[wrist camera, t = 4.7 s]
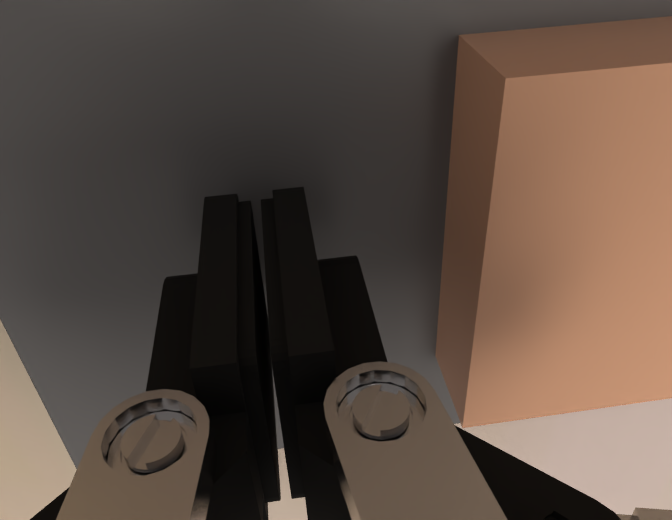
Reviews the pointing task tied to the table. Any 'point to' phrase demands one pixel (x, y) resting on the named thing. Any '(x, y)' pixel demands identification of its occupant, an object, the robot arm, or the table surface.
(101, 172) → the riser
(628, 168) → the terracotta tile
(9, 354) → the table surface
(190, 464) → the robot arm
